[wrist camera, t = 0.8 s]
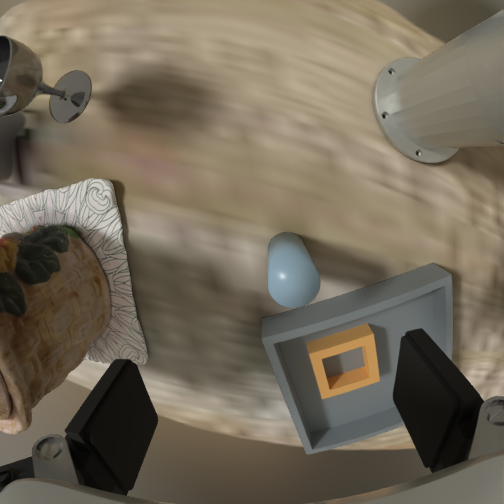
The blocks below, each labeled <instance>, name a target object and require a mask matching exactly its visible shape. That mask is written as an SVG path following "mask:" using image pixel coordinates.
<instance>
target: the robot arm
mask: <svg viewBox="0 0 504 504" xmlns="http://www.w3.org/2000/svg"><path fill="white" fill-rule="evenodd" d="M389 72H390V73H389ZM373 105H374V112H375V115H376V118H377V121H378V123H379V126H380V128H381V130H382V132H383V133H384V135H385V136H386V138H387V139H388V141H389V142H390V143H391V144H392V145H393V146H394V147H395V148H396V149H397V150H398V151H400V152H401V153H402V154H403V155H405V156H407V157H409V158H411V159H413V160H416V161H419V162H424V163H438V162H442V161H445V160H447V159H449V158H451V157H452V156H453V155H454V154H455V153H456V152H457V151H458V150H459V148H460V147H482V146H504V9H503V10H502V11H500V12H499V13H497V14H495V15H494V16H492V17H491V18H489V19H487V20H485V21H484V22H482V23H480V24H479V25H477V26H475V27H474V28H472V29H470V30H469V31H467V32H465V33H463V34H461V35H460V36H458V37H457V38H455V39H453V40H452V41H450V42H448V43H447V44H445V45H444V46H442V47H440V48H439V49H437V50H436V51H434V52H432V53H431V54H429V55H428V56H426V57H425V58H423V59H419V58H415V57H405V58H400V59H397V60H395V61H393V62H391V63H390V64H388V65H387V66H386V67H385V68H384V69H383V70H382V71H381V72H380V73H379V75H378V77H377V79H376V81H375V85H374V89H373ZM382 115H384V118H383V117H382ZM416 152H417V155H416ZM393 401H394V404H395V406H396V408H397V410H398V412H399V414H400V416H401V418H402V420H403V422H404V424H405V426H406V428H407V430H408V432H409V434H410V436H411V439H412V441H413V443H414V445H415V447H416V449H417V451H418V453H419V456H420V458H421V460H422V462H423V464H424V466H425V467H426V468H428V467H429V468H430V470H431V472H432V474H429V475H426V476H423V477H420V478H417V479H415V480H411V481H408V482H405V483H401V484H398V485H395V486H392V487H388V488H384V489H381V490H377V491H373V492H368V493H364V494H360V495H355V496H351V497H345V498H340V499H334V500H329V501H322V502H315V503H307V504H504V397H502V396H495V397H491V398H489V399H487V400H486V401H485V402H484V400H483V399H482V398H481V396H480V395H479V393H478V392H477V391H476V390H475V388H474V387H473V386H472V385H471V384H470V382H469V381H468V380H467V379H466V377H465V376H464V375H463V374H462V373H461V372H460V370H459V369H458V368H457V367H456V366H455V365H454V363H453V362H452V361H451V360H450V359H449V358H448V356H447V355H446V354H445V353H444V352H443V351H442V350H441V348H440V347H439V346H438V345H437V344H436V343H435V342H434V341H433V340H432V338H431V337H430V336H429V335H428V334H427V333H426V332H425V331H424V330H423V329H422V328H419V329H414V330H410V331H407V332H406V333H405V336H402V337H401V341H400V349H399V357H398V364H397V371H396V377H395V383H394V389H393ZM157 423H158V416H157V413H156V411H155V409H154V407H153V404H152V402H151V400H150V397H149V395H148V392H147V390H146V387H145V385H144V382H143V380H142V377H141V375H140V372H139V369H138V367H137V365H136V364H135V363H133V362H132V361H131V360H130V359H115V360H114V361H113V362H112V364H111V365H110V366H109V368H108V369H107V370H106V372H105V373H104V375H103V376H102V377H101V379H100V380H99V382H98V383H97V384H96V386H95V387H94V389H93V390H92V391H91V393H90V394H89V396H88V397H87V399H86V400H85V402H84V403H83V404H82V406H81V407H80V409H79V410H78V412H77V413H76V414H75V416H74V417H73V419H72V420H71V422H70V423H69V425H68V426H67V428H66V429H65V432H66V434H67V435H66V437H65V438H64V437H63V436H61V435H58V434H48V435H45V436H43V437H41V438H40V439H38V440H37V441H36V442H35V444H34V445H33V448H32V457H28V458H26V459H23V460H19V461H16V462H13V463H10V464H7V465H4V466H1V467H0V504H173V503H165V502H158V501H151V500H145V499H140V498H135V497H129V496H127V493H128V491H129V490H132V489H133V487H134V484H135V481H136V479H137V476H138V473H139V471H140V468H141V465H142V463H143V460H144V457H145V455H146V452H147V450H148V447H149V444H150V442H151V439H152V437H153V434H154V431H155V429H156V426H157Z"/></svg>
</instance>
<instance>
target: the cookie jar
mask: <svg viewBox="0 0 504 504" xmlns="http://www.w3.org/2000/svg"><path fill="white" fill-rule="evenodd" d="M122 234H123V227H122V223H121V215H120V211H119V208H118V205H117V201H116V196H115V191H114V186H113V184H112V183H111V182H110V181H109V180H105V179H101V178H91V179H87V180H84V181H81V182H79V183H76V184H71V185H70V186H67V187H64V188H60V189H48V190H44V191H42V192H40V193H39V194H35V195H31V196H28V197H26V198H24V199H20V200H17V201H13V202H11V203H9V204H6V205H3V206H0V430H1V431H3V432H4V433H7V434H11V435H12V434H18V433H20V432H22V431H25V430H27V429H28V428H29V426H30V424H31V421H32V413H31V409H32V408H34V407H35V406H36V405H37V404H38V402H39V401H40V400H41V399H42V398H43V397H44V396H45V395H46V394H47V393H49V392H51V390H53V389H55V388H57V387H58V386H60V385H61V384H62V383H63V382H64V380H65V378H66V377H67V375H68V374H69V373H70V372H71V371H73V370H74V369H75V368H76V367H78V366H79V364H80V363H81V362H82V361H83V360H88V359H89V360H92V361H96V362H100V361H101V362H102V363H110V364H112V362H113V361H114V360H115V359H130V360H131V361H132V362H133V363H135V364H137V365H140V364H141V365H145V364H146V363H147V358H148V353H147V348H146V344H145V339H144V335H143V332H142V329H141V326H140V323H139V320H138V317H137V312H136V306H135V301H134V297H133V293H132V285H131V276H130V272H129V267H128V261H127V252H126V250H125V247H124V244H123V236H122Z"/></svg>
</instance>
